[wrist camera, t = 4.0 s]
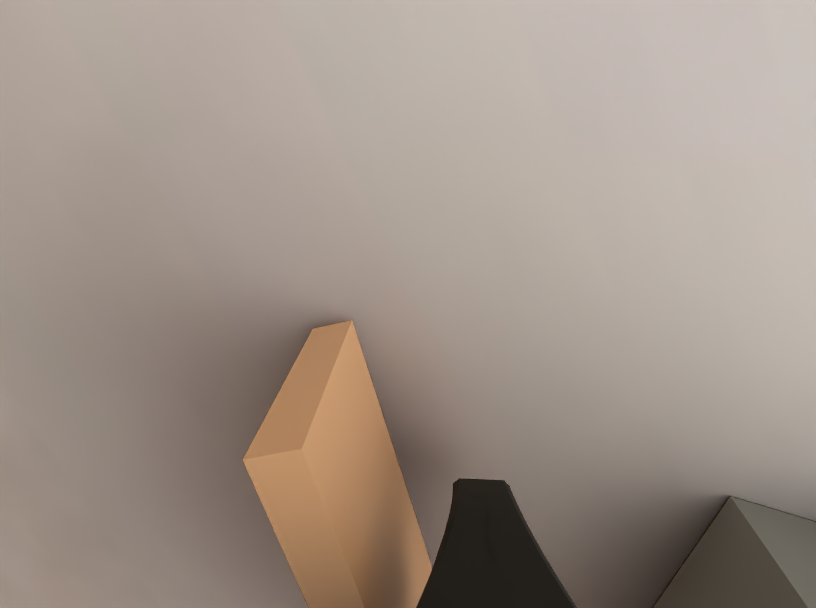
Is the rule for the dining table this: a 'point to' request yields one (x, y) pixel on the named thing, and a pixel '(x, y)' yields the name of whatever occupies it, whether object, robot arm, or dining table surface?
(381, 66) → the dining table surface
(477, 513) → the robot arm
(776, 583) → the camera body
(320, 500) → the long wooden block
